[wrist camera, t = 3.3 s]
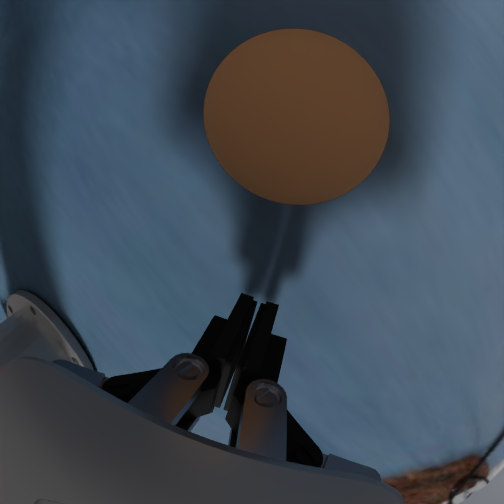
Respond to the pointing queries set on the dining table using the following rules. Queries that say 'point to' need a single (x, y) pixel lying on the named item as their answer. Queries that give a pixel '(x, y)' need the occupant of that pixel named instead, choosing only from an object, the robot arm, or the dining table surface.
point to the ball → (296, 116)
